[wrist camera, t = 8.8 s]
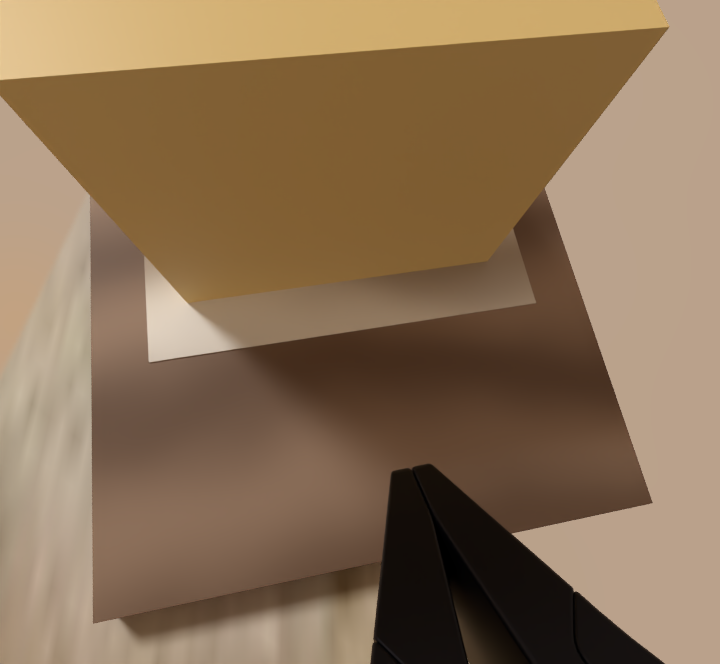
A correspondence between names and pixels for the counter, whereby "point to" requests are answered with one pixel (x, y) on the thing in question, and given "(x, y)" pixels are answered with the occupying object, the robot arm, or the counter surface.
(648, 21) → the t block
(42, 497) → the counter surface
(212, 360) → the walnut board
